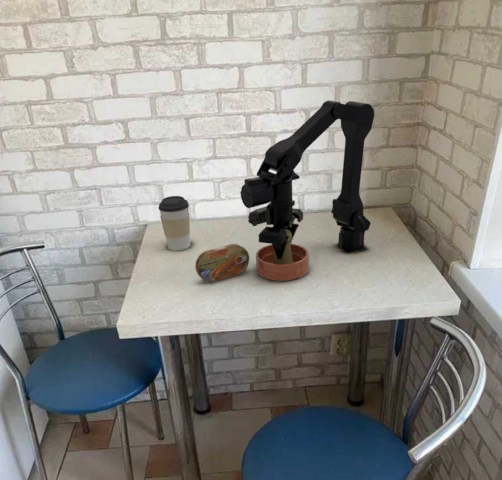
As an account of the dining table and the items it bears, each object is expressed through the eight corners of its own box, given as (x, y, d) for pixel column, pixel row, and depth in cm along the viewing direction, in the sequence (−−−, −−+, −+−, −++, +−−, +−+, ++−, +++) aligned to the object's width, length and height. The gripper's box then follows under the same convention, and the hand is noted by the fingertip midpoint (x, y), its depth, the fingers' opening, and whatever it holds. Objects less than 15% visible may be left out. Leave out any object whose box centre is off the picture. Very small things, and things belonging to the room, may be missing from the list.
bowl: (296, 256, 153) (296, 239, 150) (316, 276, 142) (317, 259, 139) (249, 264, 150) (249, 248, 147) (266, 286, 138) (266, 269, 136)
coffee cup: (158, 250, 162) (151, 202, 154) (173, 238, 169) (166, 192, 160) (185, 253, 159) (178, 204, 150) (198, 241, 166) (193, 194, 157)
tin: (200, 285, 140) (196, 256, 136) (195, 281, 143) (192, 252, 138) (250, 272, 146) (249, 243, 141) (245, 267, 148) (243, 239, 144)
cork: (292, 273, 142) (291, 235, 136) (269, 272, 143) (268, 234, 137) (295, 264, 147) (295, 226, 141) (273, 263, 148) (272, 225, 142)
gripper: (264, 185, 145) (266, 239, 153) (237, 208, 130) (241, 266, 139) (303, 188, 141) (303, 243, 149) (280, 212, 127) (281, 271, 135)
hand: (282, 255), depth 143 cm, fingers closed on cork, 4 cm apart
